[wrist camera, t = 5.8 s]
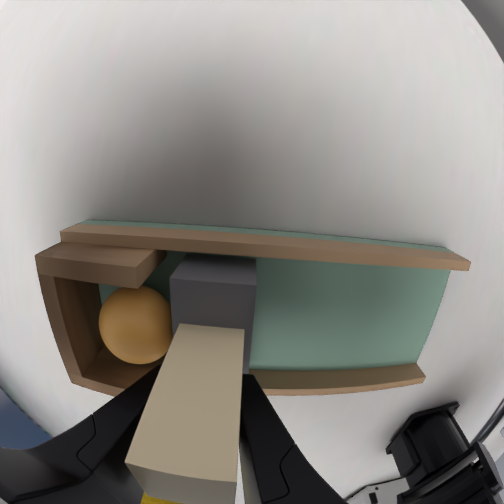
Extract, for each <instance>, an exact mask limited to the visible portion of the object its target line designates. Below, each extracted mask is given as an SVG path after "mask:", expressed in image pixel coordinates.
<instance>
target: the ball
mask: <svg viewBox="0 0 504 504" xmlns="http://www.w3.org/2000/svg"><path fill="white" fill-rule="evenodd" d="M99 330H100V334H101V337H102V339H103V341H104V343H105V345H106V346H107V348H108V349H109V350H110V351H111V352H112V353H113V354H114V355H115V356H116V357H118V358H119V359H121V360H123V361H126V362H128V363H133V364H147V363H151V362H154V361H156V360H158V359H160V358H161V357H162V356H164V355H165V354H166V353H167V351H168V349H169V347H170V345H171V342H172V340H173V327H172V314H171V305H170V304H169V302H168V301H167V300H166V299H165V297H164V296H163V295H161V294H160V293H159V292H157V291H156V290H154V289H152V288H150V287H147V286H143V285H141V286H140V287H139V288H138V289H134V288H126V287H121V288H119V289H117V290H115V291H114V292H113V293H112V294H110V295H109V296H108V298H107V299H106V300H105V302H104V304H103V306H102V308H101V311H100V315H99Z"/></svg>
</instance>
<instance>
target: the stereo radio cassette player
mask: <svg viewBox="0 0 504 504" xmlns="http://www.w3.org/2000/svg"><path fill="white" fill-rule="evenodd" d="M408 489H409V486H408V483H407V481H406V478H402V479H399V480H395V481H391V482H387V483H383V484H378V485H374V486H370V485H369V486H366V488H365V489H363V490H362V491H360V492H359V493H357V494H356V495H354V496H353V497H352V498H349V500H347V501H346V502H347V503H349V504H397V495H398V494H400V493H402V492H405V491H407V490H408Z"/></svg>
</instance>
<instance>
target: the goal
mask: <svg viewBox="0 0 504 504" xmlns="http://www.w3.org/2000/svg"><path fill="white" fill-rule="evenodd" d="M166 257H167V250H159V249H146V248H133V247H120V246H108V245H95V244H83V243H70V242H60V243H58V244H56V245H54V246H52V247H50V248H48V249H46V250H44V251H42V252H40V253H38V254H36V255H35V260H36V266H37V272H38V277H39V282H40V286H41V291H42V295H43V299H44V303H45V307H46V311H47V315H48V318H49V322H50V325H51V328H52V331H53V335H54V338H55V341H56V344H57V346H58V349H59V352H60V355H61V358H62V360H63V363H64V365H65V368H66V370H67V373H68V375H69V378H70V380H71V382H72V383H73V384H76V385H79V386H82V387H85V388H88V389H91V390H94V391H97V392H101V393H104V394H107V395H111V396H115V397H116V396H117V395H118V394H120V393H121V392H122V391H124V390H125V389H126V388H128V387H129V386H130V385H132V384H133V383H134V382H136V381H137V380H138V379H139V378H141V377H142V376H143V375H145V374H146V373H147V372H149V371H150V370H151V369H152V368H154V367H155V366H156V365H158V364H163V361H164V359H165V357H166V354H167V353H166V354H165V355H164V356H162V357H161V358H160V359H158V360H156V361H154V362H151V363H147V364H133V363H128V362H126V361H123V360H121V359H119V358H118V357H116V356H115V355H114V354H113V353H112V352H111V351H110V350H109V349H108V348H107V346H106V345H105V343H104V341H103V339H102V337H101V334H100V330H99V315H100V311H101V308H102V303H101V297H100V291H99V284H105V285H112V286H119V287H126V288H134V289H138V288H139V287H140V286H141V285H142V284H143V282H144V281H145V280H146V279H147V278H148V277H149V276H150V274H151V273H152V272H153V271H154V270H155V269H156V268H157V267H158V265H159V264H160V263H161V262H162V261H163V260H164V259H165V258H166ZM167 352H168V351H167Z"/></svg>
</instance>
